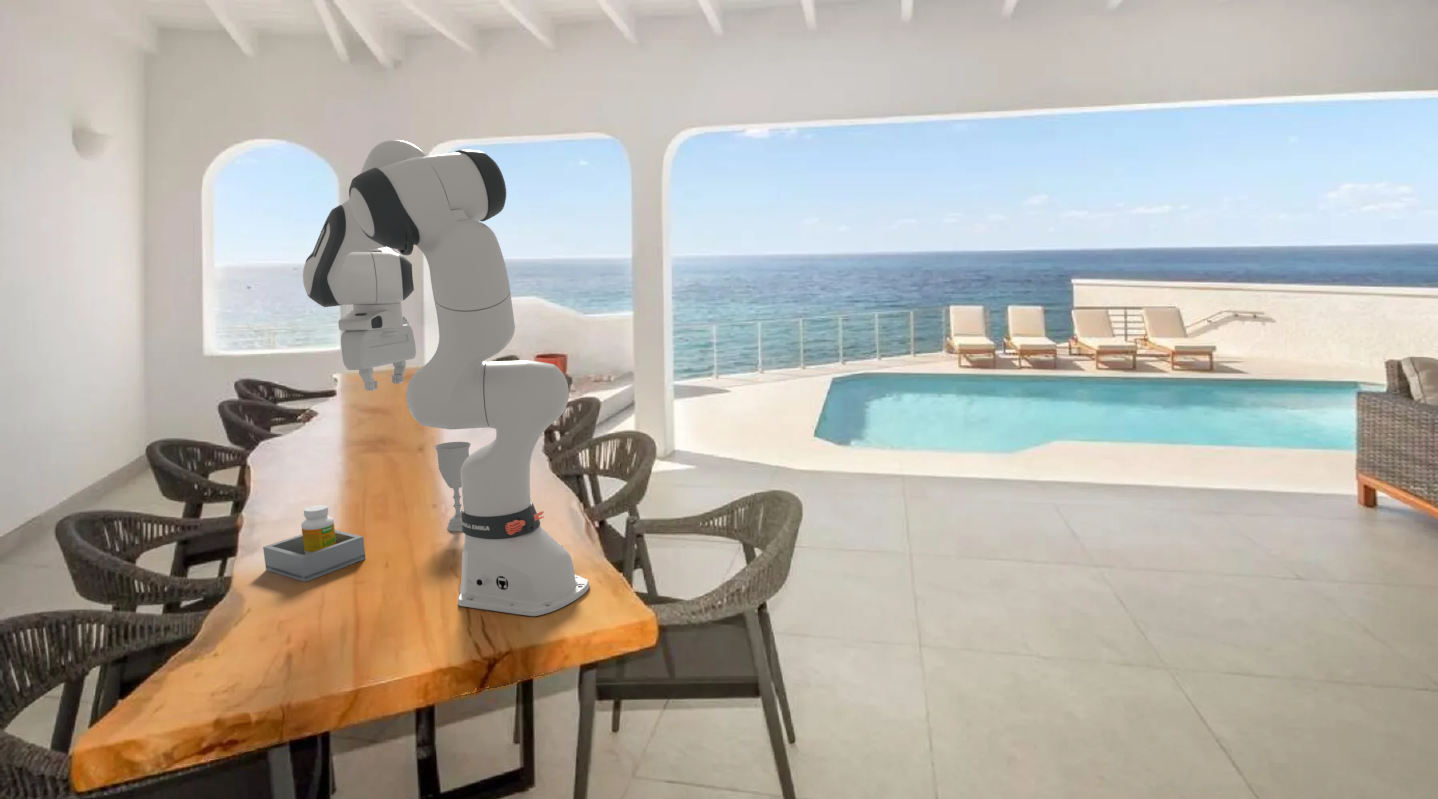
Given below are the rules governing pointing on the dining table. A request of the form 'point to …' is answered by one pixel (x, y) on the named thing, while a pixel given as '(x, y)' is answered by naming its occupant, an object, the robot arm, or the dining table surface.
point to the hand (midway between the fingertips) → (385, 386)
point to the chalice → (453, 474)
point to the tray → (313, 556)
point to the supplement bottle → (317, 529)
